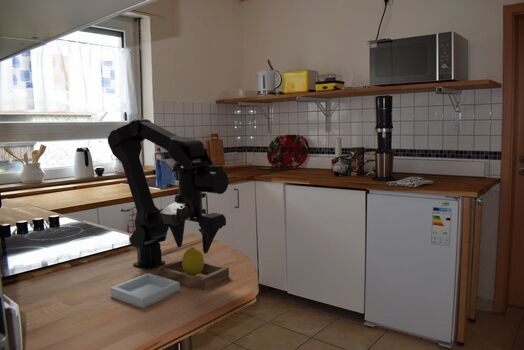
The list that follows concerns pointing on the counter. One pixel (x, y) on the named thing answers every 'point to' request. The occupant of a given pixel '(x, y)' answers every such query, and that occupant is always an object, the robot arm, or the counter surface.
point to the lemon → (193, 261)
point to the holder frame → (213, 270)
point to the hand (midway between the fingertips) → (192, 249)
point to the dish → (145, 290)
